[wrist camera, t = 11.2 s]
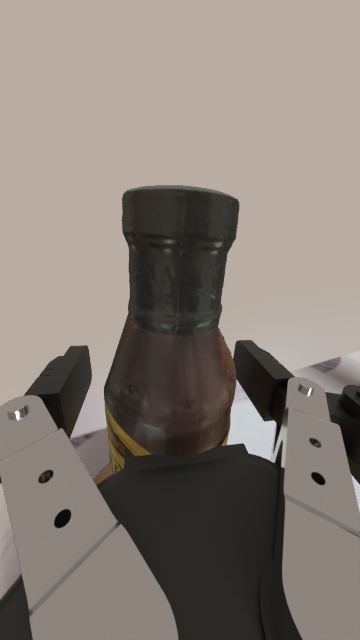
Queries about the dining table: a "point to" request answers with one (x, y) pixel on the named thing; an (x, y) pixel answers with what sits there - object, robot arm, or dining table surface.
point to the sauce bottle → (172, 326)
